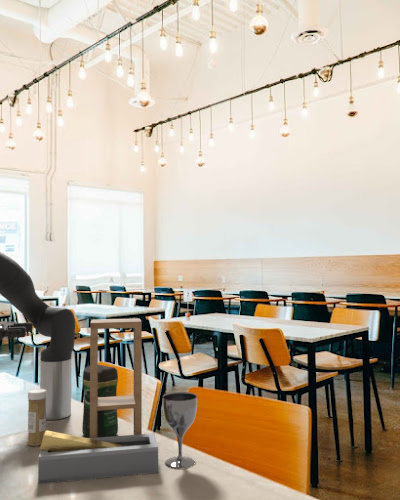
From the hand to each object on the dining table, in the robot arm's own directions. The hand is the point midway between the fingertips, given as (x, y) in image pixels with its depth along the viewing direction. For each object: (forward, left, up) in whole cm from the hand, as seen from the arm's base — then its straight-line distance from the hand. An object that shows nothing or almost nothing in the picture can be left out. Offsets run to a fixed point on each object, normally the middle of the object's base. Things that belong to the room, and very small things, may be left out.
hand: (29, 329), depth 105 cm
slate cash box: (+7, +17, -31) cm, 35 cm away
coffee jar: (-16, +16, -31) cm, 38 cm away
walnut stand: (-2, +20, -31) cm, 37 cm away
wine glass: (+7, +35, -31) cm, 47 cm away
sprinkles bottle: (-13, 0, -31) cm, 34 cm away
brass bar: (+7, +14, -27) cm, 31 cm away
